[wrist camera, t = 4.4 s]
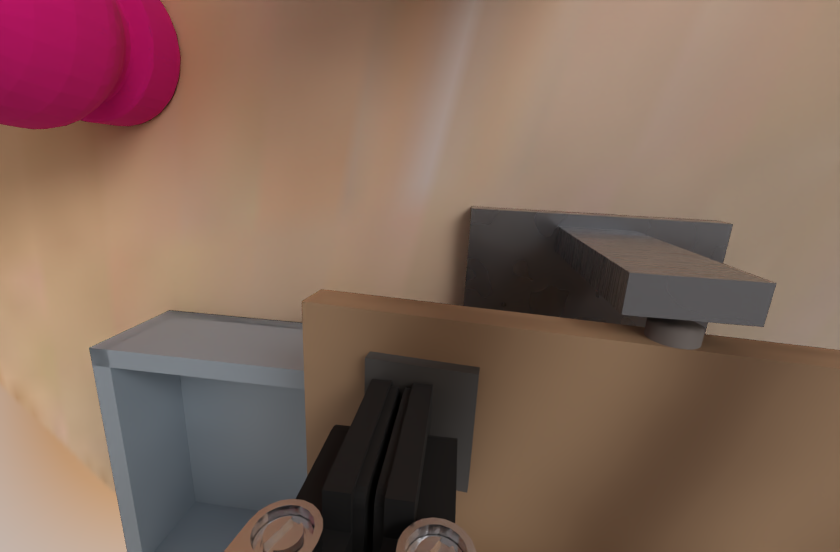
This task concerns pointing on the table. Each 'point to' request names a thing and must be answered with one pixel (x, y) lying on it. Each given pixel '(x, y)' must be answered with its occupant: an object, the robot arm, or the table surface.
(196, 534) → the bin
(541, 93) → the table surface
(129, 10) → the pepper mill
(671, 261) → the stand
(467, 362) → the tray
